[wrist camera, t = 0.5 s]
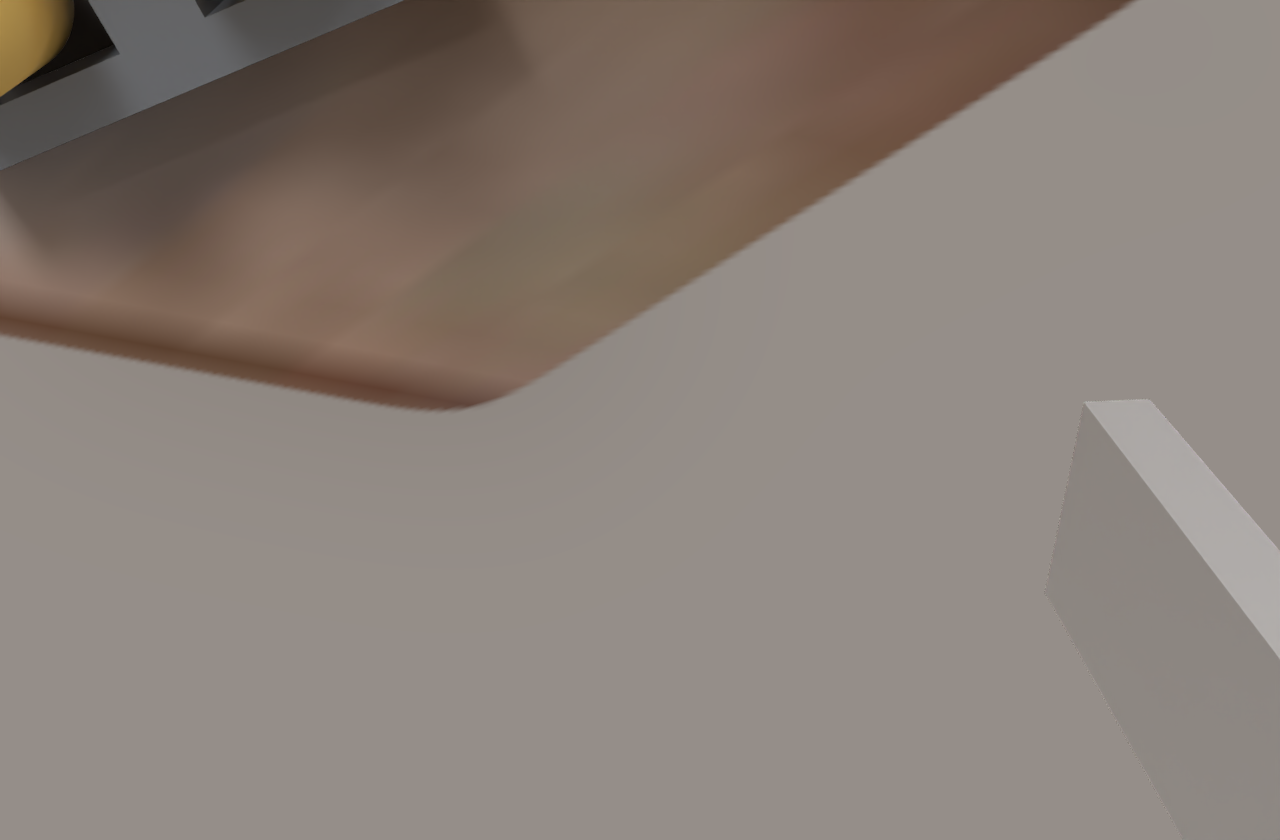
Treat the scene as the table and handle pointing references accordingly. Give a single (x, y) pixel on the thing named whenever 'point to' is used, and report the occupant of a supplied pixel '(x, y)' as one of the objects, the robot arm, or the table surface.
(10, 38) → the button
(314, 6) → the board
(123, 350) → the table surface
